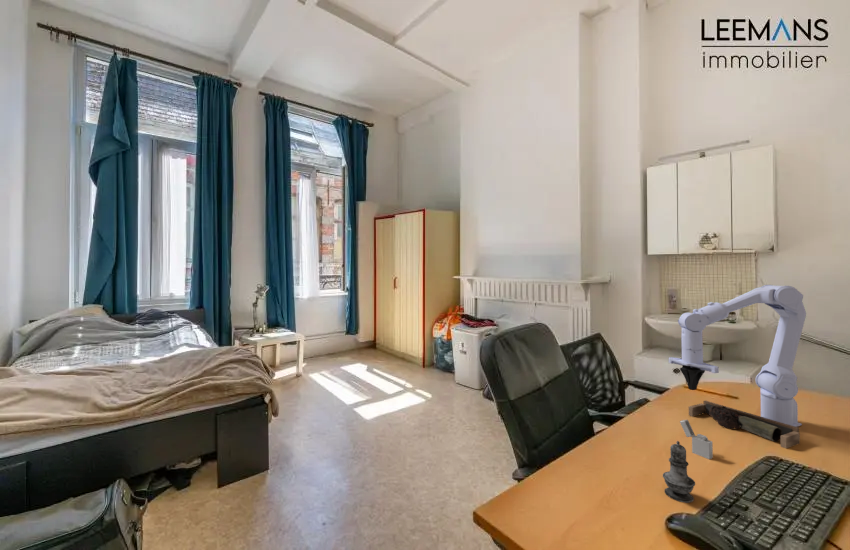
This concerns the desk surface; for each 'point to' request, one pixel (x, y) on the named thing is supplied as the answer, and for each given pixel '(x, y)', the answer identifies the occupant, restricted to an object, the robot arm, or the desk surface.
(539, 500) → the desk surface
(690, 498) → the salt shaker
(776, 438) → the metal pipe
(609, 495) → the desk surface
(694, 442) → the lighter
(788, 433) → the bearing cradle
